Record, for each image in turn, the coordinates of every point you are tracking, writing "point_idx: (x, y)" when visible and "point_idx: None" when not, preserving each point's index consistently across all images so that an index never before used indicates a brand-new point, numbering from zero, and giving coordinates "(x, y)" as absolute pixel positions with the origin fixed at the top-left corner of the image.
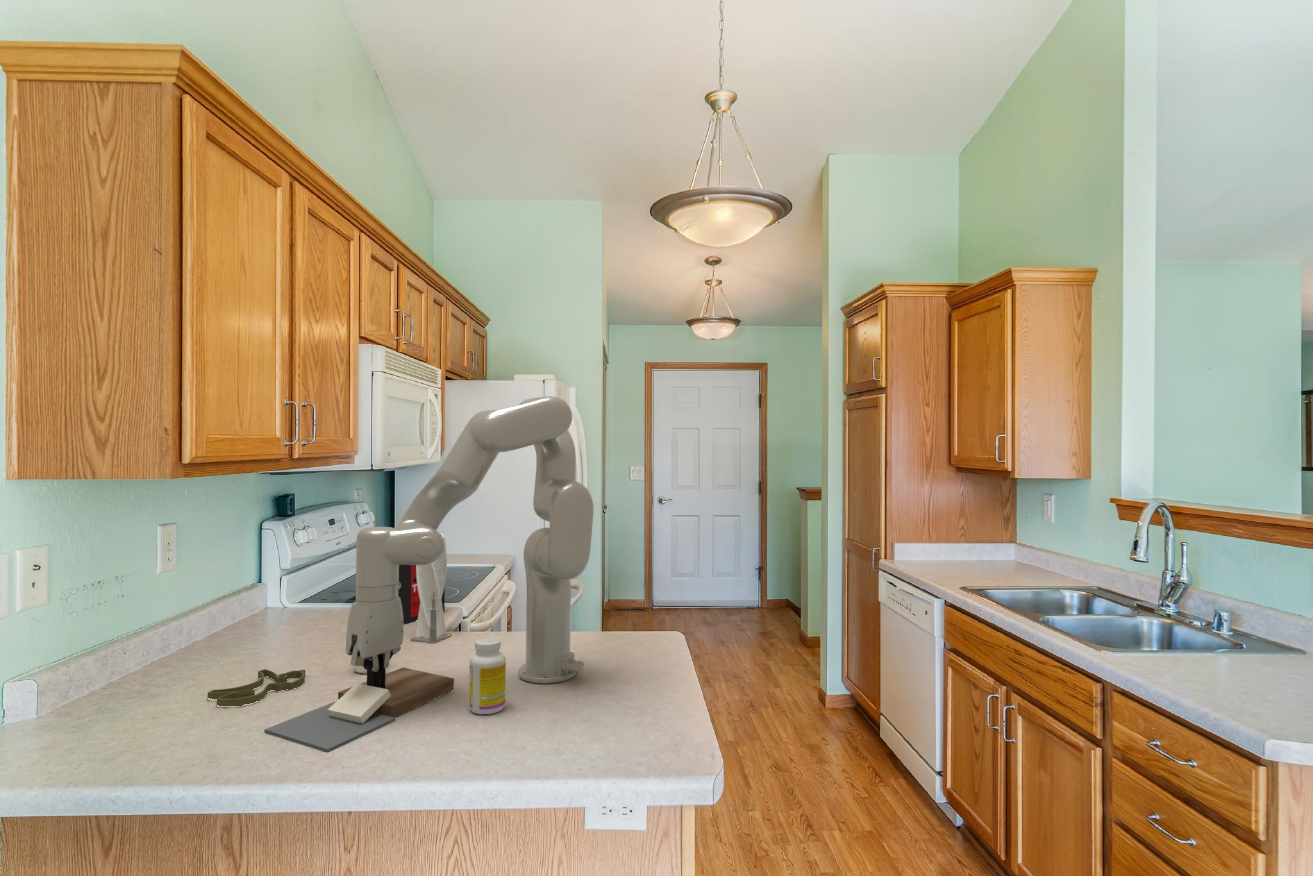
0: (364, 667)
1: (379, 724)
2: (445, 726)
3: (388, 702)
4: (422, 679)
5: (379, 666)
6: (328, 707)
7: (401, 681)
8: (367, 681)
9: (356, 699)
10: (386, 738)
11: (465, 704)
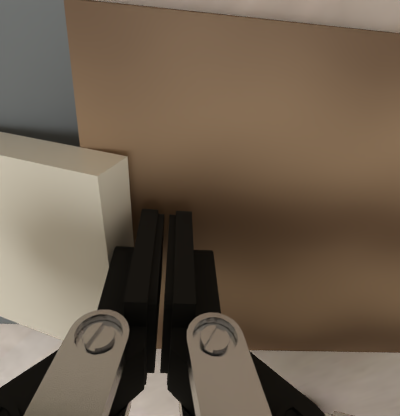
0: (49, 361)
1: None
2: (154, 406)
3: None
4: (395, 279)
5: (168, 377)
6: (2, 8)
7: (355, 222)
8: (110, 268)
9: (19, 252)
10: (20, 361)
11: (291, 378)
